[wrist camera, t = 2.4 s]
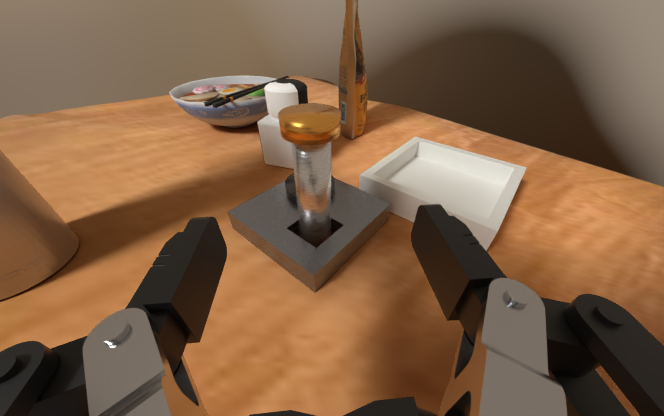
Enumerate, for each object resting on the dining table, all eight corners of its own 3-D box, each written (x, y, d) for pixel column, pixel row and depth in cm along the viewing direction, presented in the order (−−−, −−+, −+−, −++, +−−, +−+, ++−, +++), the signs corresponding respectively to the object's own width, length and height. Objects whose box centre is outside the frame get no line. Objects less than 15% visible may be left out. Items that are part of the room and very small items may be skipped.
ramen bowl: (236, 101, 68) (228, 67, 63) (309, 112, 61) (307, 75, 56) (152, 134, 51) (132, 90, 45) (243, 155, 43) (232, 106, 38)
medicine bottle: (283, 147, 46) (274, 74, 39) (319, 152, 44) (317, 78, 37) (264, 164, 41) (249, 85, 33) (304, 171, 39) (298, 89, 32)
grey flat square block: (233, 228, 29) (223, 200, 26) (310, 182, 37) (309, 156, 34) (315, 292, 22) (312, 263, 20) (387, 219, 30) (393, 192, 28)
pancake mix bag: (329, 141, 48) (328, -75, 30) (339, 110, 63) (343, -48, 45) (364, 143, 47) (384, -77, 30) (366, 111, 62) (380, -48, 44)
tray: (358, 196, 34) (359, 174, 32) (410, 155, 43) (415, 136, 41) (483, 255, 26) (497, 231, 24) (514, 189, 35) (526, 167, 33)
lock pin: (286, 245, 27) (265, 113, 18) (315, 223, 30) (309, 100, 21) (317, 267, 25) (310, 129, 16) (345, 241, 27) (353, 111, 19)
